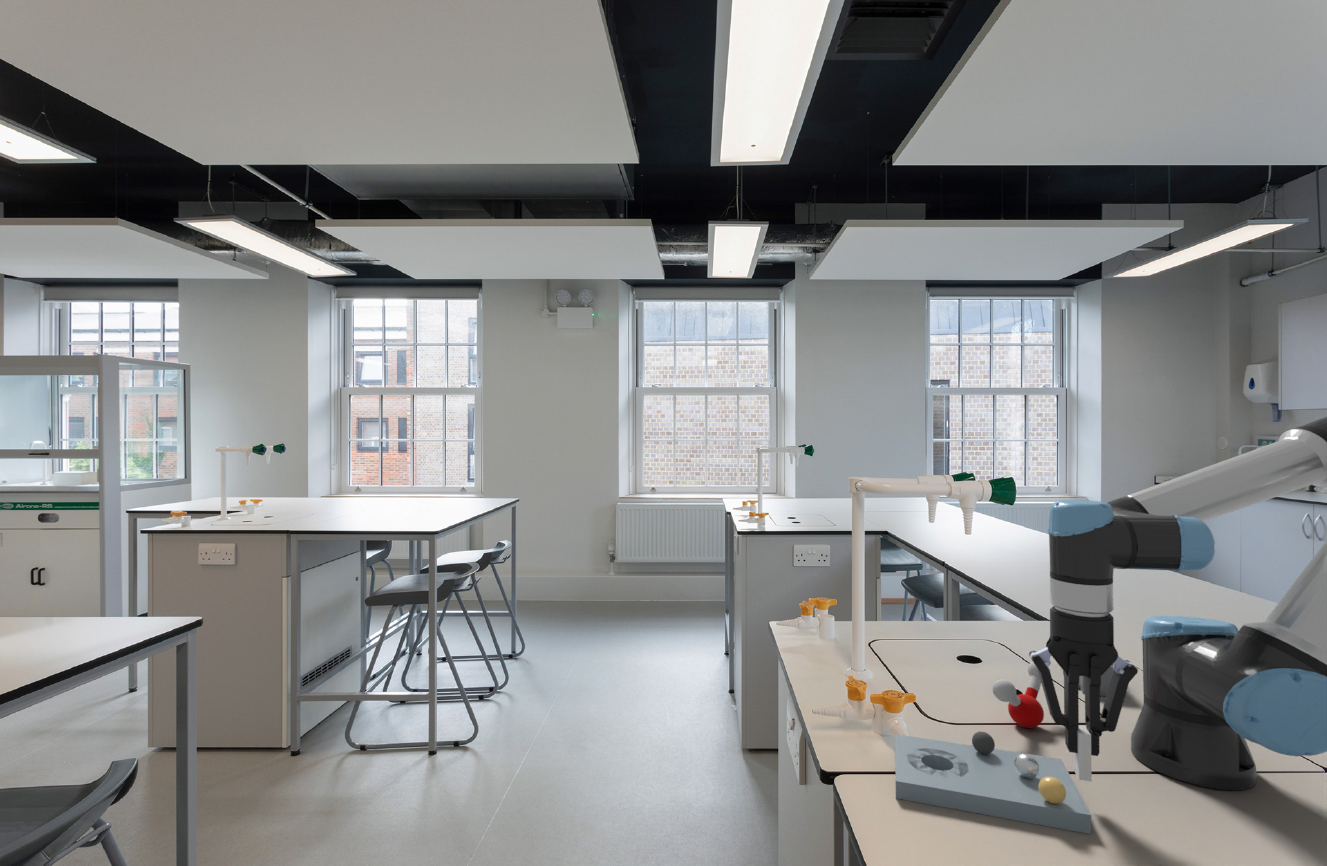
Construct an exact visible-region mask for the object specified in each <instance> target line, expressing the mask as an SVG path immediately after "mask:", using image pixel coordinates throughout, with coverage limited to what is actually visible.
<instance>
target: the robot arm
mask: <svg viewBox="0 0 1327 866" xmlns="http://www.w3.org/2000/svg"><path fill="white" fill-rule="evenodd" d="M1309 486H1314V487H1319V488H1326V487H1327V416H1324V417H1321V418H1319V419H1316V420H1313V421H1310V422H1308V423H1305V424H1302V425H1300V426H1297V427H1294V428H1291V429H1288V430H1287V431H1285V432H1283V433H1282V434H1281V435H1280V436H1279V438H1278V441H1275V442H1273V443H1270V444H1267V445H1264V446H1261V447H1259V448H1256V449H1253V450H1251V451H1248V452H1245V453H1244V452H1243V453H1242V454H1239V455H1236V456H1233V457H1231V458H1229V459H1225V460H1222V461H1220V462H1217V463H1214V464H1211V465H1209V466H1206V467H1202V468H1200V469H1197V470H1195V471H1191V472H1189V473H1187V474H1184V475H1180V476H1179V477H1178V476H1177V477H1175V478H1173V479H1170V480H1167V481H1164V482H1162V483H1158V484H1155V485H1152V486H1150V487H1147V488H1144V489H1142V490H1139V491H1137V492H1133V493H1131V494H1128V495H1125V496H1122V497H1118V498H1115V499H1112V500H1109V501H1107V502H1105V501H1098V500H1085V499H1083V500H1082V499H1063V500H1062V499H1060V500H1057V501H1055V502H1053V503H1052V504H1051V506H1050V510H1049V518H1048V519H1049V520H1048V529H1047V532H1048V538H1049V539H1048V540H1049V541H1048V543H1049V545H1048V546H1049V603H1050V604H1051V605H1053V606H1052V607H1050V609H1049V638H1048V640H1047V641H1046V643H1045V647H1044V648H1042V649H1040V650H1038V651H1037V650H1031V651H1029V653H1028V655H1029V658H1030V659H1031V660H1032V661H1031V662H1034V664H1035V665H1036V667H1037V668H1038V672H1039V675H1040V679H1041V685H1042V689H1043V693H1044V697H1045V700H1046V705H1047V707H1048V710H1049V714H1050V716H1051V719H1052V720H1053V721H1054V724H1057V726H1063V727H1064V732H1065V735H1064V736H1065V739H1064V741H1065V745H1066V746H1065V747H1066V748H1067V750H1068V751H1069V753H1073V771H1074V773H1075V774H1076V777H1077V779H1078V780H1079V781H1085V782H1092V756H1095V757H1099V754H1100V738H1101V737H1102V735H1103V733H1104V732H1110V733H1112V732H1115V731H1116V729H1117V725H1118V722H1119V718H1120V715H1121V712H1122V708H1123V705H1124V701H1125V698H1126V693H1127V690H1128V688H1129V684H1130V682H1131V681H1132V679H1134V678H1135V676H1136V675H1137V673H1138V671H1139V670H1138V668H1137V667H1136V666H1135V664H1133V663H1132V662H1131V660H1127V659H1123V658H1122V657H1121V656H1119V652H1118V650H1117V649H1116V647H1115V643H1114V642H1115V641H1114V638H1115V636H1114V634H1115V631H1114V630H1115V629H1114V628H1115V625H1114V624H1115V623H1114V616H1113V615H1112V614H1111V613H1112V612H1113V611H1114V607H1115V606H1114V570H1115V569H1117V570H1151V571H1153V570H1154V571H1155V570H1156V571H1175V572H1177V573H1178V572H1181V571H1182V572H1183V571H1198V570H1202V569H1205V568H1207V566H1209V565H1210V563H1212V561H1213V560H1214V559H1213V558H1214V557H1215V554H1216V553H1215V552H1216V550H1215V544H1216V542H1215V538H1214V536H1213V533H1212V531H1211V529H1210V527H1209V526H1208V525H1207V524H1206V522H1207V521H1209V520H1213V519H1215V518H1218V517H1222V516H1224V515H1227V514H1230V513H1233V512H1235V511H1238V510H1241V509H1245V508H1247V507H1248V508H1249V507H1251V506H1253V505H1256V504H1259V503H1263V502H1265V501H1267V500H1271V499H1273V498H1274V499H1275V498H1277V497H1280V496H1283V495H1285V494H1289V493H1291V492H1294V491H1297V490H1300V489H1303V488H1306V487H1309ZM1142 625H1143V626H1142V630H1141V631H1142V633H1141V637H1140V639H1141V641H1142V681H1143V684H1142V687H1143V705H1142V708H1141V711H1140V713H1139V715H1138V718H1137V720H1136V723H1135V725H1134V727H1133V730H1132V732H1131V734H1130V750H1131V753H1132V755H1133V756H1134V758H1136V759H1137V760H1138V761H1139V762H1141V763H1142V764H1144V765H1145V766H1147V767H1149V768H1151V770H1154V771H1156V772H1158V773H1161V774H1163V775H1165V776H1167V777H1170V778H1173V779H1176V780H1179V781H1181V782H1184V783H1188V784H1192V785H1196V786H1199V787H1205V788H1209V789H1216V790H1224V791H1243V790H1248V789H1251V788H1253V787H1254V786H1256V784H1257V766H1256V763H1255V760H1254V757H1253V755H1252V753H1251V750H1250V747H1249V745H1248V742H1247V741H1249V742H1251V743H1254V744H1257V745H1260V746H1262V747H1264V748H1266V749H1267V750H1270V751H1272V752H1275V753H1277V754H1280V755H1284V756H1289V757H1290V756H1291V757H1302V756H1310V757H1311V756H1317V755H1320V754H1324V753H1327V540H1325V542H1324V543H1323V545H1322V546H1321V547H1320V548H1319V549H1318V551H1317V553H1315V555H1314V557H1312V559H1311V560H1310V561H1309V562H1308V564H1307V565H1306V566H1305V568H1304V569H1303V570H1302V572H1301V573H1300V574H1299V575H1298V577H1297V578H1296V580H1295V581H1294V582H1293V583H1292V585H1291V586H1290V587H1289V589H1288V590H1287V591H1286V592H1285V594H1284V595H1283V596H1282V598H1281V599H1280V601H1279V602H1278V603H1277V604H1276V606H1275V607H1274V608H1273V609H1272V611H1271V612H1270V613H1269V615H1268V616H1267V617H1266V619H1264V620H1263V621H1258V622H1248V623H1244V624H1243V625H1242V626H1241V627H1240V628H1239V629H1238V627H1237V625H1235V624H1233V623H1231V622H1229V621H1224V620H1219V619H1212V618H1204V617H1194V616H1185V615H1183V616H1180V615H1153V616H1150V617H1147V618H1146V619H1145V620H1144V621H1143V624H1142ZM1051 657H1052V658H1053V659H1054V660H1055V662H1056V663H1057V664H1058V666H1059V667H1060V668H1061V670H1062V673H1063V695H1064V696H1063V701H1064V702H1063V704H1064V705H1063V711H1064V712H1062V709H1061V705H1060V702H1059V697H1058V695H1057V690H1056V687H1055V684H1054V681H1053V677H1052V673H1051V670H1050V671H1049V669H1050V668H1049V669H1048V667H1050V666H1051V663H1052V662H1051ZM1113 663H1114V665H1113V669H1114V673H1113V675H1112V678H1111V682H1110V685H1109V689H1108V692H1107V696H1105V700H1104V703H1103V706H1102V710H1101V695H1100V686H1101V675H1103V674H1104V673H1105V672H1106V670H1107V669H1108V668H1109V667H1110V666H1111V665H1112V664H1113ZM1079 676H1084V678H1085V694H1084V718H1085V719H1084V721H1085V725H1086V726H1085V725H1080V724H1079V720H1080V719H1079V718H1080V717H1079V715H1080V714H1079V708H1080V707H1079V688H1078V684H1079Z"/></svg>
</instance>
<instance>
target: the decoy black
mask: <svg viewBox="0 0 1327 866" xmlns="http://www.w3.org/2000/svg"><path fill="white" fill-rule="evenodd" d="M971 744H972V746H974V748H975V749H976V750H977V751H978V752H979V753H982V754H990V753H991V752H992V751H993V750H994V749H996V748H995V747H996V743H995V740H994V739H993V737H992V736H991V735H990V733H988V732H985V731H977V732H975V733H974V734H973V735H972V737H971Z"/></svg>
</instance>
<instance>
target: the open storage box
mask: <svg viewBox="0 0 1327 866" xmlns="http://www.w3.org/2000/svg"><path fill="white" fill-rule="evenodd" d="M1113 665H1114V663H1113V664H1112V665H1111V666H1110V667H1109V668H1108V669H1107V670H1106V672H1105V673H1104V674H1103V675H1101V686H1100V697H1106V696H1107V692H1108V689H1109V685H1110V682H1111V678H1112V675H1113V673H1114V669H1113ZM1079 684H1080V688H1079V691H1081V692H1082V694H1084V695H1085V678H1084V676H1079Z"/></svg>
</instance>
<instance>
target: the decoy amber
mask: <svg viewBox="0 0 1327 866" xmlns="http://www.w3.org/2000/svg"><path fill="white" fill-rule="evenodd" d="M1039 791H1040V794H1041V795H1042V797H1043V798H1044V799H1045V800H1047V801H1048V802H1050V803H1054V804H1059V803H1061V802H1063V801H1064V800H1065V798H1066V789H1065V787H1064V785H1063V784H1062V783H1061V782H1060V781H1059V780H1058V779H1056V778H1054V777H1044V778H1042V779H1041V780H1040V782H1039Z"/></svg>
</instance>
